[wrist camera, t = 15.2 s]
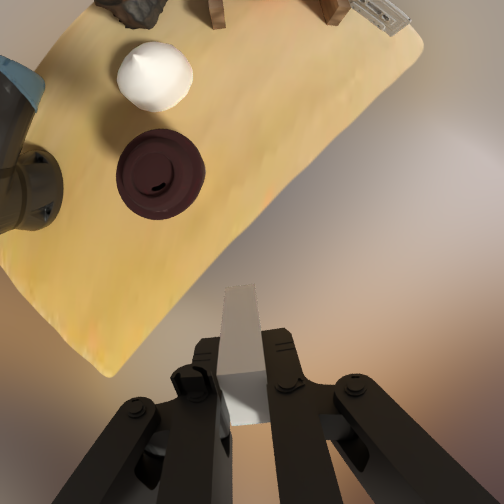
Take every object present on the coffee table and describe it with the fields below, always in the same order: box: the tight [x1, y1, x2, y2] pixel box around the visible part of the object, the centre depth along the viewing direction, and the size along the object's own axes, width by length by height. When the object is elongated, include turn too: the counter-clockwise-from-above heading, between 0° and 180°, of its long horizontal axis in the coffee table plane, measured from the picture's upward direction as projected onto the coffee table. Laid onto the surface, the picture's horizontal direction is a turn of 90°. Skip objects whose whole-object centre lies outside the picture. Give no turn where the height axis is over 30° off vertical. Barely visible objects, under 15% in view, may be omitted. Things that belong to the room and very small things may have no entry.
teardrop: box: [116, 41, 193, 112], centre depth 30 cm, size 11×11×12 cm
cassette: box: [348, 0, 412, 37], centre depth 28 cm, size 12×2×8 cm, turn 54°
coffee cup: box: [116, 129, 206, 220], centre depth 33 cm, size 10×10×15 cm
